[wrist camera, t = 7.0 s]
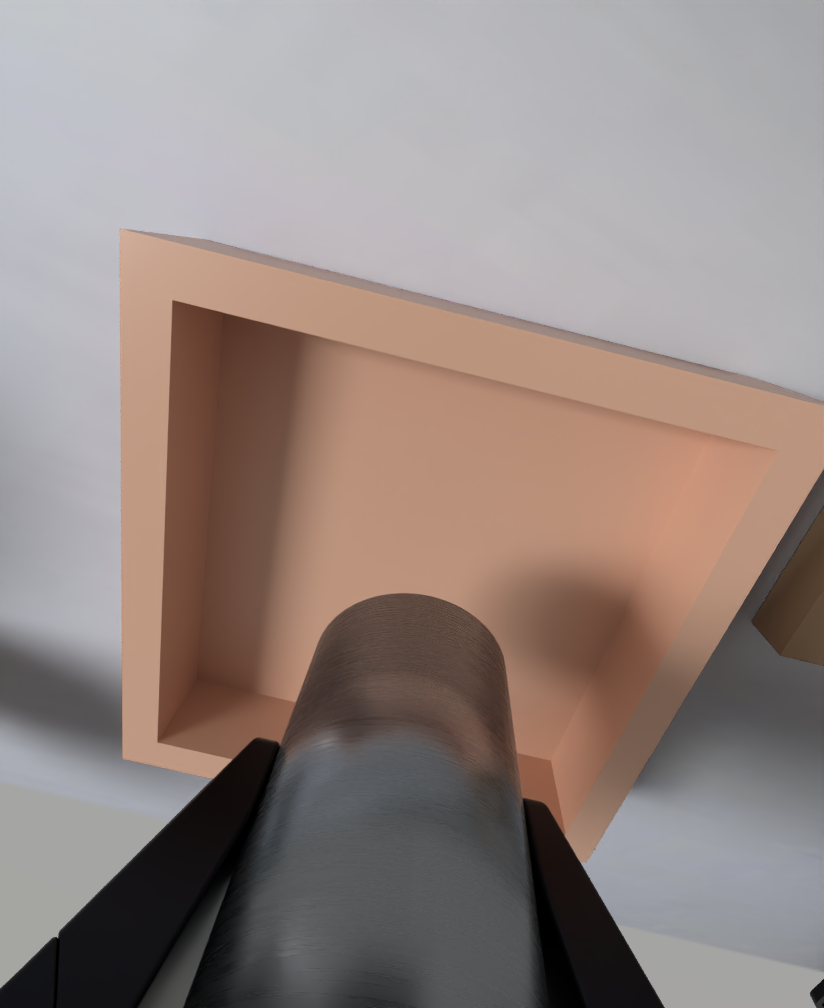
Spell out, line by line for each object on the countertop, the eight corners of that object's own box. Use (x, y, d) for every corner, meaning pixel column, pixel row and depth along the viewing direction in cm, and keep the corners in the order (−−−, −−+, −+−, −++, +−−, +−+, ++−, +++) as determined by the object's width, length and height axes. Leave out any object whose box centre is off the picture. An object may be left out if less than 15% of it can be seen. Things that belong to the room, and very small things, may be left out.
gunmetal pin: (532, 620, 10) (664, 1216, 4) (475, 760, 12) (500, 1343, 5) (331, 572, 10) (111, 1102, 4) (301, 721, 12) (116, 1265, 5)
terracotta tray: (757, 378, 13) (856, 413, 10) (563, 761, 19) (586, 862, 16) (204, 239, 13) (119, 228, 9) (179, 674, 18) (122, 758, 15)
